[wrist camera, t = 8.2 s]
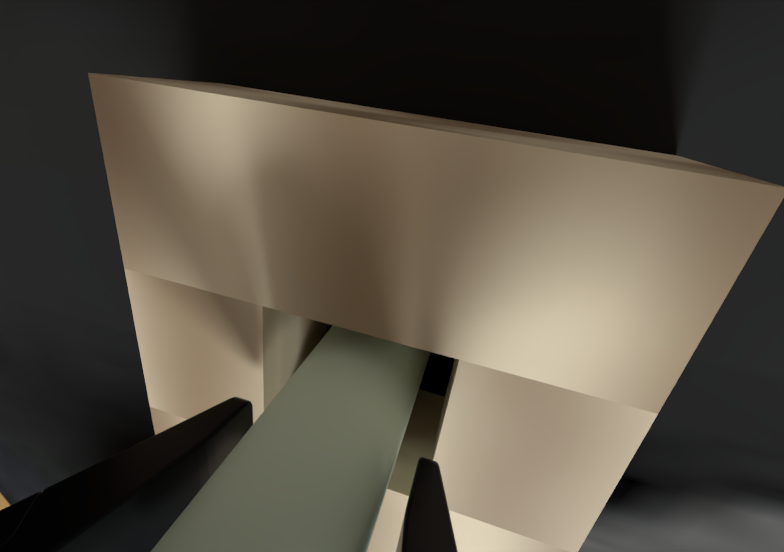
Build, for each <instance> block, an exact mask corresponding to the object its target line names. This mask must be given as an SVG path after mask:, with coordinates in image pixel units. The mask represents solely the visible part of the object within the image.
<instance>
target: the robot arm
mask: <svg viewBox="0 0 784 552" xmlns="http://www.w3.org/2000/svg"><path fill="white" fill-rule="evenodd" d="M252 425H253V406H252V403H251V401H249V400H246V399H243V398H240V397H232V398H230V399H228V400H226V401H223V402H221V403H219V404H217V405H215V406H213V407H211V408H209V409H207V410H205V411H203V412H201V413H199V414H197V415H195V416H193V417H191V418H189V419H187V420H185V421H183V422H181V423H179V424H177V425H175V426H172V427H170V428H168V429H166V430H164V431H162V432H160V433H158V434H156V435H154V436H152V437H150V438H148V439H146V440H144V441H142V442H140V443H138V444H136V445H134V446H132V447H130V448H128V449H126V450H124V451H121V452H119V453H117V454H115V455H113V456H111V457H109V458H107V459H105V460H103V461H101V462H99V463H97V464H95V465H93V466H91V467H89V468H87V469H85V470H83V471H81V472H79V473H77V474H75V475H73V476H70V477H68V478H66V479H64V480H62V481H60V482H58V483H56V484H54V485H52V486H50V487H48V488H46V489H45V490H44V491H43V492H38V493H35V494H33V495H31V496H29V497H27V498H25V499H23V500H21V501H19V502H17V503H15V504H13V505H11V506H9V507H7V508H5V509H2V510H1V511H0V552H151V550H152V549H153V548H154V547H155V546H156V544H157V543H158V542H159V541H160V539H161V538H162V537H163V536H164V534H165V533H166V532H167V531H168V529H169V528H170V527H171V526H172V524H173V523H174V522H175V521H176V519H177V518H178V517H179V516H180V514H181V513H182V512H183V511H184V510H185V508H186V507H187V506H188V505H189V503H190V502H191V501H192V500H193V498H194V497H195V496H196V495H197V493H198V492H199V491H200V490H201V488H202V487H203V486H204V485H205V483H206V482H207V481H208V480H209V479H210V477H211V476H212V475H213V474H214V472H215V471H216V470H217V469H218V467H219V466H220V465H221V464H222V462H223V461H224V460H225V459H226V457H227V456H228V455H229V454H230V452H231V451H232V450H233V449H234V448H235V446H236V445H237V444H238V443H239V441H240V440H241V439H242V438H243V436H244V435H245V434H246V433H247V431H248V430H249V429H250V428H251V426H252ZM396 552H458V551H457V546H456V542H455V537H454V532H453V528H452V523H451V518H450V513H449V509H448V504H447V499H446V495H445V490H444V485H443V481H442V476H441V471H440V467H439V464H438V463H437V462H436V461H433V460H430V459H427V458H424V457H420V458H419V459H418V462H417V466H416V470H415V474H414V478H413V482H412V486H411V490H410V494H409V498H408V502H407V506H406V510H405V514H404V519H403V523H402V527H401V532H400V536H399V540H398V545H397V549H396Z"/></svg>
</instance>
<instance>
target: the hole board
mask: <svg viewBox="0 0 784 552" xmlns="http://www.w3.org/2000/svg"><path fill="white" fill-rule="evenodd" d="M88 75H89V80H90V86H91V91H92V97H93V102H94V107H95V113H96V118H97V124H98V129H99V134H100V140H101V145H102V151H103V156H104V161H105V167H106V172H107V178H108V183H109V188H110V194H111V199H112V204H113V210H114V215H115V221H116V226H117V231H118V237H119V242H120V248H121V253H122V258H123V264H124V269H125V275H126V280H127V285H128V291H129V296H130V302H131V307H132V312H133V318H134V323H135V329H136V334H137V339H138V345H139V350H140V356H141V361H142V366H143V372H144V377H145V382H146V388H147V393H148V399H149V404H150V409H151V415H152V420H153V426H154V431H155V435H156V434H158V433H160V432H162V431H164V430H166V429H168V428H170V427H172V426H175V425H177V424H179V423H181V422H183V421H185V420H187V419H189V418H191V417H193V416H195V415H197V414H199V413H201V412H203V411H205V410H207V409H209V408H211V407H213V406H215V405H217V404H219V403H221V402H223V401H226V400H228V399H230V398H232V397H240V398H243V399H246V400H249V401H251V403H252V406H253V424H254V423H255V421H256V420H257V419H258V418H259V416H260V415H261V414H262V413H263V412H264V410H265V409H266V408H267V407H268V405H269V404H270V403H271V402H272V400H273V399H274V398H275V397H276V395H277V394H278V393H279V392H280V390H281V389H282V388H283V387H284V385H285V384H286V383H287V382H288V381H289V379H290V378H291V377H292V376H293V374H294V373H295V372H296V371H297V369H298V368H299V367H300V366H301V364H302V363H303V362H304V361H305V359H306V358H307V357H308V356H309V354H310V353H311V352H312V351H313V349H314V348H315V347H316V346H317V345H318V343H319V342H320V341H321V340H322V338H323V337H324V336H325V335H326V333H327V324H330V325H334V326H337V327H341V328H345V329H348V330H352V331H356V332H359V333H363V334H367V335H370V336H374V337H378V338H381V339H385V340H389V341H392V342H396V343H400V344H403V345H407V346H411V347H414V348H418V349H422V350H425V351H429V352H433V353H436V354H440V355H444V356H447V357H451V358H455V359H454V363H453V367H452V371H451V374H450V378H449V382H448V386H447V390H446V394H445V396H441V395H438V394H434V393H431V392H427V391H424V390H421V389H419V390H418V393H417V396H416V400H415V403H414V406H413V409H412V412H411V415H410V418H409V422H408V425H407V428H406V431H405V434H404V437H403V440H402V443H401V447H400V450H399V453H398V456H397V459H396V462H395V465H394V468H393V472H392V475H391V478H390V481H389V484H388V487H387V490H386V493H385V497H384V500H383V503H382V506H381V509H380V512H379V515H378V518H377V522H376V525H375V528H374V531H373V534H372V537H371V540H370V543H369V547H368V550H367V552H396V549H397V545H398V540H399V536H400V532H401V527H402V523H403V519H404V514H405V510H406V506H407V502H408V498H409V494H410V490H411V486H412V482H413V478H414V474H415V470H416V466H417V462H418V459H419V458H420V457H424V458H427V459H430V460H433V461H436V462H437V463H438V464H439V467H440V471H441V476H442V481H443V485H444V490H445V495H446V499H447V504H448V509H449V513H450V518H451V523H452V528H453V532H454V537H455V542H456V546H457V551H458V552H578V551H579V549H580V547H581V545H582V544H583V542H584V540H585V539H586V537H587V535H588V533H589V532H590V530H591V528H592V527H593V525H594V523H595V521H596V520H597V518H598V516H599V515H600V513H601V511H602V509H603V508H604V506H605V504H606V502H607V501H608V499H609V497H610V496H611V494H612V492H613V490H614V489H615V487H616V485H617V484H618V482H619V480H620V478H621V477H622V475H623V473H624V471H625V470H626V468H627V466H628V465H629V463H630V461H631V459H632V458H633V456H634V454H635V453H636V451H637V449H638V447H639V446H640V444H641V442H642V440H643V439H644V437H645V435H646V434H647V432H648V430H649V428H650V427H651V425H652V423H653V422H654V420H655V418H656V416H657V415H658V413H659V411H660V409H661V408H662V406H663V404H664V403H665V401H666V399H667V397H668V396H669V394H670V392H671V391H672V389H673V387H674V385H675V384H676V382H677V380H678V379H679V377H680V375H681V373H682V372H683V370H684V368H685V366H686V365H687V363H688V361H689V360H690V358H691V356H692V354H693V353H694V351H695V349H696V348H697V346H698V344H699V342H700V341H701V339H702V337H703V335H704V334H705V332H706V330H707V329H708V327H709V325H710V323H711V322H712V320H713V318H714V317H715V315H716V313H717V311H718V310H719V308H720V306H721V304H722V303H723V301H724V299H725V298H726V296H727V294H728V292H729V291H730V289H731V287H732V286H733V284H734V282H735V280H736V279H737V277H738V275H739V274H740V272H741V270H742V268H743V267H744V265H745V263H746V261H747V260H748V258H749V256H750V255H751V253H752V251H753V249H754V248H755V246H756V244H757V243H758V241H759V239H760V237H761V236H762V234H763V232H764V230H765V229H766V227H767V225H768V224H769V222H770V220H771V218H772V217H773V215H774V213H775V212H776V210H777V208H778V206H779V205H780V203H781V201H782V199H783V198H784V187H783V186H780V185H776V184H773V183H769V182H766V181H762V180H759V179H756V178H752V177H749V176H745V175H742V174H738V173H735V172H732V171H728V170H725V169H721V168H718V167H714V166H711V165H707V164H704V163H701V162H697V161H694V160H690V159H687V158H683V157H680V156H676V155H670V154H664V153H657V152H651V151H645V150H638V149H632V148H626V147H619V146H613V145H607V144H600V143H594V142H588V141H581V140H575V139H569V138H563V137H556V136H550V135H544V134H537V133H531V132H525V131H518V130H512V129H506V128H499V127H493V126H487V125H480V124H474V123H468V122H461V121H455V120H449V119H443V118H436V117H430V116H424V115H417V114H411V113H405V112H398V111H392V110H386V109H379V108H373V107H367V106H360V105H354V104H348V103H342V102H335V101H329V100H323V99H316V98H310V97H304V96H297V95H291V94H285V93H278V92H272V91H266V90H259V89H253V88H247V87H241V86H234V85H228V84H222V83H209V82H197V81H184V80H171V79H159V78H146V77H133V76H121V75H108V74H96V73H88Z"/></svg>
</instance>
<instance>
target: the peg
mask: <svg viewBox="0 0 784 552" xmlns="http://www.w3.org/2000/svg"><path fill="white" fill-rule="evenodd" d="M430 353H431V352H429V351H425V350H422V349H418V348H414V347H411V346H407V345H403V344H400V343H396V342H392V341H389V340H385V339H381V338H378V337H374V336H370V335H367V334H363V333H359V332H356V331H352V330H348V329H345V328H341V327H337V326H334V325H333V326H332V327H331V328H330V330H329V331H328V332H327V333H326V335H325V336H324V337H323V338H322V340H321V341H320V342H319V343H318V345H317V346H316V347H315V348H314V349H313V351H312V352H311V353H310V354H309V356H308V357H307V358H306V359H305V361H304V362H303V363H302V364H301V366H300V367H299V368H298V369H297V371H296V372H295V373H294V374H293V376H292V377H291V378H290V379H289V381H288V382H287V383H286V384H285V385H284V387H283V388H282V389H281V390H280V392H279V393H278V394H277V395H276V397H275V398H274V399H273V400H272V402H271V403H270V404H269V405H268V407H267V408H266V409H265V410H264V412H263V413H262V414H261V415H260V416H259V418H258V419H257V420H256V421H255V423H254V424H253V425H252V426H251V428H250V429H249V430H248V431H247V433H246V434H245V435H244V436H243V438H242V439H241V440H240V441H239V443H238V444H237V445H236V446H235V448H234V449H233V450H232V451H231V452H230V454H229V455H228V456H227V457H226V459H225V460H224V461H223V462H222V464H221V465H220V466H219V467H218V469H217V470H216V471H215V472H214V474H213V475H212V476H211V477H210V479H209V480H208V481H207V482H206V483H205V485H204V486H203V487H202V488H201V490H200V491H199V492H198V493H197V495H196V496H195V497H194V498H193V500H192V501H191V502H190V503H189V505H188V506H187V507H186V508H185V510H184V511H183V512H182V513H181V514H180V516H179V517H178V518H177V519H176V521H175V522H174V523H173V524H172V526H171V527H170V528H169V529H168V531H167V532H166V533H165V534H164V536H163V537H162V538H161V539H160V541H159V542H158V543H157V544H156V546H155V547H154V548H153V549H152V550H151V552H367V550H368V547H369V543H370V540H371V537H372V534H373V531H374V528H375V525H376V522H377V518H378V515H379V512H380V509H381V506H382V503H383V500H384V497H385V493H386V490H387V487H388V484H389V481H390V478H391V475H392V472H393V468H394V465H395V462H396V459H397V456H398V453H399V450H400V447H401V443H402V440H403V437H404V434H405V431H406V428H407V425H408V422H409V418H410V415H411V412H412V409H413V406H414V403H415V400H416V396H417V393H418V390H419V387H420V384H421V381H422V378H423V375H424V371H425V368H426V365H427V362H428V359H429V356H430Z"/></svg>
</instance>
